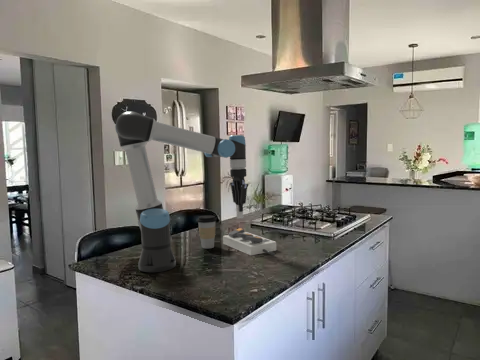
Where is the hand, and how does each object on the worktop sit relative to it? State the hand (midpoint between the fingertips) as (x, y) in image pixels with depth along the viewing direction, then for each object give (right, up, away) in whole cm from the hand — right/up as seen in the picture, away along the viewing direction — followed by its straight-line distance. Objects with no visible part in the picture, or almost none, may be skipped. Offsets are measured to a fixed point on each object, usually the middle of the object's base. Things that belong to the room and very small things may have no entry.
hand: (240, 218), depth 185 cm
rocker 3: (+6, -9, -5) cm, 12 cm away
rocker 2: (+2, -9, +2) cm, 9 cm away
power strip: (+6, -15, 0) cm, 16 cm away
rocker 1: (-2, -8, +9) cm, 12 cm away
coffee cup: (-16, -15, +6) cm, 22 cm away
